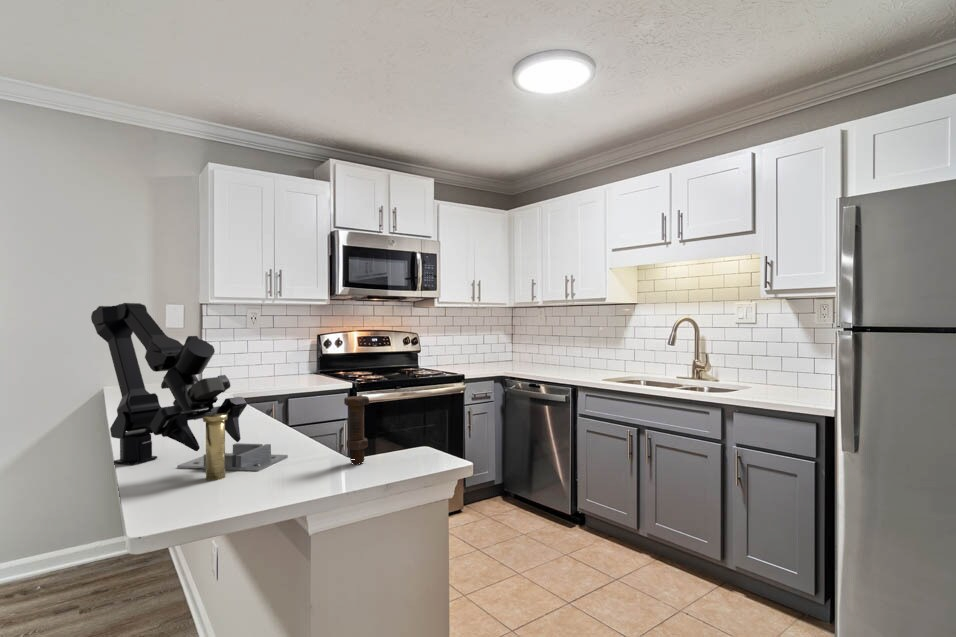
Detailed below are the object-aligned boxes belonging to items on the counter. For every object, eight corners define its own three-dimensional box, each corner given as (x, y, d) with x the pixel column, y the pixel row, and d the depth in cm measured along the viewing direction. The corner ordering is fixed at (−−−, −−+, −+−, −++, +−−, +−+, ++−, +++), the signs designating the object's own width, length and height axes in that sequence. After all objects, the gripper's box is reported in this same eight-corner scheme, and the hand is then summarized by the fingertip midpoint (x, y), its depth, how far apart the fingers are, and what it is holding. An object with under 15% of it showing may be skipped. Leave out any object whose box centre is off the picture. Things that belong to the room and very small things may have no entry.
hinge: (177, 468, 118) (177, 454, 118) (213, 455, 130) (213, 442, 130) (258, 471, 115) (258, 456, 115) (287, 457, 127) (287, 444, 127)
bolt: (373, 460, 122) (372, 395, 123) (366, 466, 117) (365, 398, 118) (348, 460, 123) (348, 395, 123) (341, 466, 118) (340, 398, 118)
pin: (198, 480, 109) (197, 416, 109) (216, 474, 113) (215, 413, 113) (215, 482, 107) (214, 417, 107) (232, 475, 111) (232, 414, 112)
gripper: (157, 367, 104) (191, 427, 99) (241, 361, 121) (274, 412, 115) (136, 404, 108) (168, 465, 102) (220, 394, 124) (251, 445, 119)
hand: (219, 445), depth 109 cm, fingers open, 9 cm apart
